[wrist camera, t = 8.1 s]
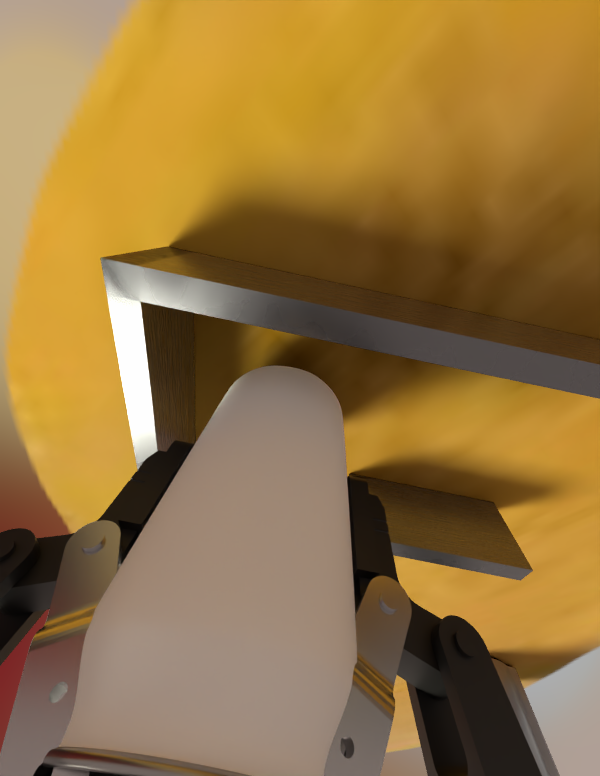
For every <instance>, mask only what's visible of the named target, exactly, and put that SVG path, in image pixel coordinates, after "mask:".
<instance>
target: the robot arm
mask: <svg viewBox="0 0 600 776" xmlns="http://www.w3.org/2000/svg"><path fill="white" fill-rule="evenodd" d="M193 446H194V444H192V443H188V442H183V441H178V440H175V441H174V442H173V443H172V444H171V446H170V447H169V449H168V450H167V451H166V452H165V451H160V450H158V451H157V452H155V453H154V454H152V455H151V456H149V457H148V458H146V460H145V461H144V462H143V463H142V465H141V466H140V467H139V469H138V471H137V472H136V473H135V474H134V475H133V476H132V478H131V480H130V481H129V482H128V483H127V484H126V485H125V487H124V488H123V489H122V491H121V492H120V493H119V495H118V496H117V497H116V498H115V500H114V501H113V502H112V504H111V505H110V506H109V507H108V509H107V510H106V511H105V513H104V514H103V515H102V516H101V517H100V518H99V519H98V520H97V521H96V522H92V523H90V524H87V525H85V526H84V527H82V528H81V529H79V530H78V531H77V532H75V533H73V534H68V535H61V536H54V537H44V538H36V537H35V535H34V534H33V533H32V532H31V531H30V530H27V529H21V528H18V529H11V530H7V531H4V532H1V533H0V665H1V664H2V663H3V662H4V660H5V659H6V658H7V657H8V656H9V654H10V653H11V652H12V651H13V650H14V648H15V647H16V646H17V645H18V644H19V642H20V641H21V640H22V639H23V637H24V636H25V635H26V634H27V633H28V631H29V630H30V629H31V628H32V626H33V625H34V624H35V623H36V622H37V620H38V619H39V618H40V617H41V615H42V614H43V613H44V612H45V611H46V610H47V609H49V614H48V617H47V621H46V623H45V625H44V627H43V628H42V629H40V630H39V631H38V632H37V633H36V635H35V636H34V638H33V640H32V643H31V645H30V648H29V652H28V655H27V659H26V662H25V666H24V670H23V673H22V677H21V681H20V684H19V688H18V691H17V695H16V699H15V702H14V706H13V710H12V713H11V717H10V721H9V724H8V728H7V732H6V735H5V739H4V743H3V746H2V750H1V754H0V776H120V775H114V774H107V773H100V772H92V771H85V770H76V769H67V768H56V767H42V763H43V760H44V758H45V756H46V755H47V753H48V752H49V751H50V750H52V749H55V748H57V747H59V745H60V744H61V742H62V740H63V737H64V735H65V732H66V730H67V727H68V725H69V723H70V720H71V717H72V714H73V710H74V705H75V700H76V694H77V687H78V678H79V670H80V663H81V656H82V650H83V645H84V640H85V636H86V632H87V630H88V628H89V626H90V623H91V621H92V618H93V615H94V611H95V609H96V607H97V605H98V604H99V602H100V600H101V598H102V597H103V595H104V593H105V592H106V590H107V588H108V587H109V585H110V583H111V582H112V580H113V578H114V577H115V575H116V573H117V571H118V570H119V568H120V566H121V565H122V563H123V561H124V560H125V558H126V556H127V555H128V553H129V551H130V550H131V548H132V547H133V545H134V543H135V542H136V540H137V538H138V537H139V535H140V533H141V532H142V530H143V528H144V527H145V525H146V523H147V522H148V520H149V518H150V517H151V515H152V514H153V512H154V510H155V509H156V507H157V505H158V504H159V502H160V500H161V499H162V497H163V495H164V494H165V492H166V490H167V489H168V487H169V486H170V484H171V482H172V481H173V479H174V477H175V476H176V474H177V472H178V471H179V469H180V468H181V466H182V464H183V463H184V461H185V459H186V458H187V456H188V454H189V453H190V451H191V450H192V448H193ZM347 484H348V499H349V516H350V532H351V548H352V565H353V582H354V598H355V623H356V642H357V663H356V664H355V667H354V671H353V679H352V687H351V691H350V694H349V697H348V701H347V704H346V706H345V709H344V712H343V715H342V717H341V720H340V723H339V725H338V728H337V730H336V733H335V736H334V738H333V741H332V744H331V747H330V749H329V753H328V756H327V760H326V764H325V769H324V776H380V773H381V769H382V765H383V760H384V756H385V752H386V748H387V743H388V739H389V735H390V730H391V726H392V722H393V717H394V711H395V699H394V697H393V688H394V683H395V679H396V675H398V676H400V677H401V678H403V679H404V680H406V682H407V687H408V691H409V695H410V700H411V704H412V709H413V713H414V717H415V722H416V726H417V730H418V735H419V739H420V744H421V748H422V752H423V757H424V761H425V765H426V770H427V774H428V776H560V775H559V773H558V770H557V768H556V765H555V763H554V761H553V758H552V756H551V754H550V751H549V749H548V746H547V744H546V741H545V739H544V737H543V734H542V732H541V729H540V727H539V725H538V722H537V719H536V717H535V715H534V712H533V710H532V707H531V705H530V703H529V700H528V698H527V695H526V693H525V690H524V688H523V686H522V683H521V681H520V678H519V676H518V673H517V671H516V669H515V668H513V667H509V666H507V665H505V664H504V663H503V662H501V661H498V660H496V659H493V658H491V656H490V654H489V652H488V649H487V647H486V645H485V643H484V641H483V639H482V638H481V636H480V635H479V633H478V632H477V631H476V630H475V629H474V627H473V626H472V625H470V624H469V623H468V622H467V621H465V620H464V619H462V618H460V617H458V616H453V615H450V616H446V617H445V618H443V619H440V618H439V617H437V616H435V615H434V614H432V613H430V612H428V611H427V610H425V609H423V608H422V607H420V606H418V605H417V604H415V603H414V602H413V601H412V600H411V599H410V598H409V597H408V595H407V593H406V592H405V590H404V589H403V588H402V586H401V585H400V583H399V581H398V577H397V573H396V568H395V562H394V557H393V552H392V546H391V541H390V536H389V534H388V532H389V530H388V525H387V523H386V522H387V520H386V514H385V509H384V506H383V505H382V503H381V501H380V500H379V498H378V496H376V495H371V494H369V490H368V483H367V480H365V479H360V478H355V477H350V476H348V477H347ZM66 691H67V692H66ZM341 739H342V740H343V744H344V745H345V748H346V749H345V752H344V755H343V754H342V752H341V747H340V743H341Z"/></svg>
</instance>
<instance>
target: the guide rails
mask: <svg viewBox="0 0 600 776" xmlns="http://www.w3.org/2000/svg"><path fill="white" fill-rule="evenodd" d="M101 263H102V269H103V275H104V281H105V286H106V292H107V298H108V303H109V309H110V315H111V321H112V326H113V332H114V338H115V343H116V349H117V355H118V361H119V366H120V372H121V378H122V383H123V389H124V395H125V401H126V406H127V412H128V418H129V423H130V429H131V435H132V440H133V446H134V452H135V458H136V463H137V469H139V467H140V466H141V465H142V463H143V462H144V461H145V460H146V458H148V457H149V456H151V455H152V454H154V453H155V452H157V451H158V450H160V451H165V452H166V451H167V450H168V449H169V447H170V446H171V444H172V443H173V442H174V441H175V440H178V441H183V442H188V443H192V444H194V445H195V443H196V431H195V365H194V313H198V314H202V315H207V316H212V317H216V318H221V319H226V320H231V321H235V322H240V323H245V324H250V325H254V326H259V327H264V328H268V329H273V330H278V331H283V332H287V333H292V334H297V335H302V336H306V337H311V338H316V339H320V340H325V341H330V342H335V343H339V344H344V345H349V346H354V347H358V348H363V349H368V350H372V351H377V352H382V353H387V354H391V355H396V356H401V357H406V358H410V359H415V360H420V361H424V362H429V363H434V364H439V365H443V366H448V367H453V368H458V369H462V370H467V371H472V372H476V373H481V374H486V375H491V376H495V377H500V378H505V379H510V380H514V381H519V382H524V383H528V384H533V385H538V386H543V387H547V388H552V389H557V390H562V391H566V392H571V393H576V394H580V395H585V396H590V397H595V398H599V399H600V340H599V339H594V338H589V337H585V336H580V335H575V334H571V333H566V332H562V331H557V330H552V329H548V328H543V327H538V326H534V325H529V324H524V323H520V322H515V321H511V320H506V319H501V318H497V317H492V316H487V315H483V314H478V313H473V312H469V311H464V310H460V309H455V308H450V307H446V306H441V305H436V304H432V303H427V302H422V301H418V300H413V299H409V298H404V297H399V296H395V295H390V294H385V293H381V292H376V291H371V290H367V289H362V288H357V287H353V286H348V285H344V284H339V283H334V282H330V281H325V280H320V279H316V278H311V277H306V276H302V275H297V274H293V273H288V272H283V271H279V270H274V269H269V268H265V267H260V266H255V265H251V264H246V263H242V262H237V261H232V260H228V259H223V258H218V257H214V256H209V255H204V254H200V253H195V252H191V251H186V250H181V249H177V248H172V247H162V248H156V249H150V250H144V251H138V252H132V253H126V254H120V255H115V256H109V257H103V258H101ZM349 476H350V477H355V478H360V479H365V480H367V483H368V490H369V494H371V495H376V496H378V498H379V500H380V501H381V503H382V505H383V506H384V509H385V514H386V520H387V522H386V523H387V525H388V530H389V532H388V534H389V536H390V541H391V546H392V552H393V555H395V556H400V557H405V558H410V559H415V560H420V561H425V562H430V563H435V564H440V565H445V566H451V567H456V568H461V569H466V570H471V571H476V572H481V573H486V574H491V575H496V576H501V577H506V578H511V579H516V580H522V579H523V578H524V577H525V576H527V575H528V574H529V573H530V572H532V571H533V570H532V568H531V566H530V564H529V563H528V561H527V559H526V558H525V556H524V554H523V552H522V551H521V549H520V547H519V545H518V544H517V542H516V540H515V539H514V537H513V535H512V533H511V532H510V530H509V528H508V526H507V525H506V523H505V521H504V520H503V518H502V516H501V514H500V513H499V511H498V509H497V507H496V506H495V504H494V503H493V502H488V501H483V500H478V499H473V498H468V497H463V496H458V495H453V494H448V493H443V492H438V491H434V490H429V489H424V488H419V487H414V486H409V485H404V484H399V483H394V482H389V481H384V480H379V479H374V478H369V477H365V476H360V475H355V474H349Z"/></svg>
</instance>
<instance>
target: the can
mask: <svg viewBox="0 0 600 776" xmlns="http://www.w3.org/2000/svg"><path fill="white" fill-rule="evenodd" d="M356 663H357V642H356V623H355V598H354V582H353V565H352V548H351V532H350V516H349V499H348V484H347V468H346V453H345V438H344V425H343V415H342V410H341V406H340V403H339V401H338V399H337V397H336V395H335V394H334V392H333V391H332V390H331V389H330V388H329V386H328V385H327V384H326V383H324V382H323V381H322V380H321V379H320V378H318V377H317V376H315V375H314V374H312V373H309V372H307V371H304V370H301V369H298V368H293V367H287V366H265V367H260V368H257V369H254V370H251V371H249V372H247V373H246V374H244V375H242V376H241V377H240V378H238V379H237V380H236V381H235V382H234V383H233V385H232V386H231V387H230V388H229V390H228V391H227V393H226V394H225V396H224V398H223V399H222V401H221V402H220V404H219V406H218V407H217V409H216V410H215V412H214V414H213V415H212V417H211V419H210V420H209V422H208V423H207V425H206V427H205V428H204V430H203V432H202V433H201V435H200V436H199V438H198V440H197V441H196V443H195V445H194V446H193V448H192V450H191V451H190V453H189V454H188V456H187V458H186V459H185V461H184V463H183V464H182V466H181V468H180V469H179V471H178V472H177V474H176V476H175V477H174V479H173V481H172V482H171V484H170V486H169V487H168V489H167V490H166V492H165V494H164V495H163V497H162V499H161V500H160V502H159V504H158V505H157V507H156V509H155V510H154V512H153V514H152V515H151V517H150V518H149V520H148V522H147V523H146V525H145V527H144V528H143V530H142V532H141V533H140V535H139V537H138V538H137V540H136V542H135V543H134V545H133V547H132V548H131V550H130V551H129V553H128V555H127V556H126V558H125V560H124V561H123V563H122V565H121V566H120V568H119V570H118V571H117V573H116V575H115V577H114V578H113V580H112V582H111V583H110V585H109V587H108V588H107V590H106V592H105V593H104V595H103V597H102V598H101V600H100V602H99V604H98V605H97V607H96V609H95V611H94V615H93V618H92V621H91V623H90V626H89V628H88V630H87V632H86V636H85V640H84V645H83V650H82V656H81V663H80V670H79V678H78V687H77V694H76V700H75V705H74V710H73V714H72V717H71V720H70V723H69V725H68V727H67V730H66V732H65V735H64V737H63V740H62V742H61V744H60V745H59V747H57V748H55V749H52V750H50V751H49V752H48V753H47V755H46V756H45V758H44V760H43V763H42V767H56V768H67V769H76V770H85V771H92V772H100V773H107V774H114V775H120V776H324V769H325V764H326V760H327V756H328V753H329V749H330V747H331V744H332V741H333V738H334V736H335V733H336V730H337V728H338V725H339V723H340V720H341V717H342V715H343V712H344V709H345V706H346V704H347V701H348V697H349V694H350V691H351V687H352V679H353V671H354V667H355V664H356ZM66 692H67V691H66ZM340 747H341V752H342V754H343V755H344V752H345V749H346V748H345V745H344V744H343V740H342V739H341V743H340Z"/></svg>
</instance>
